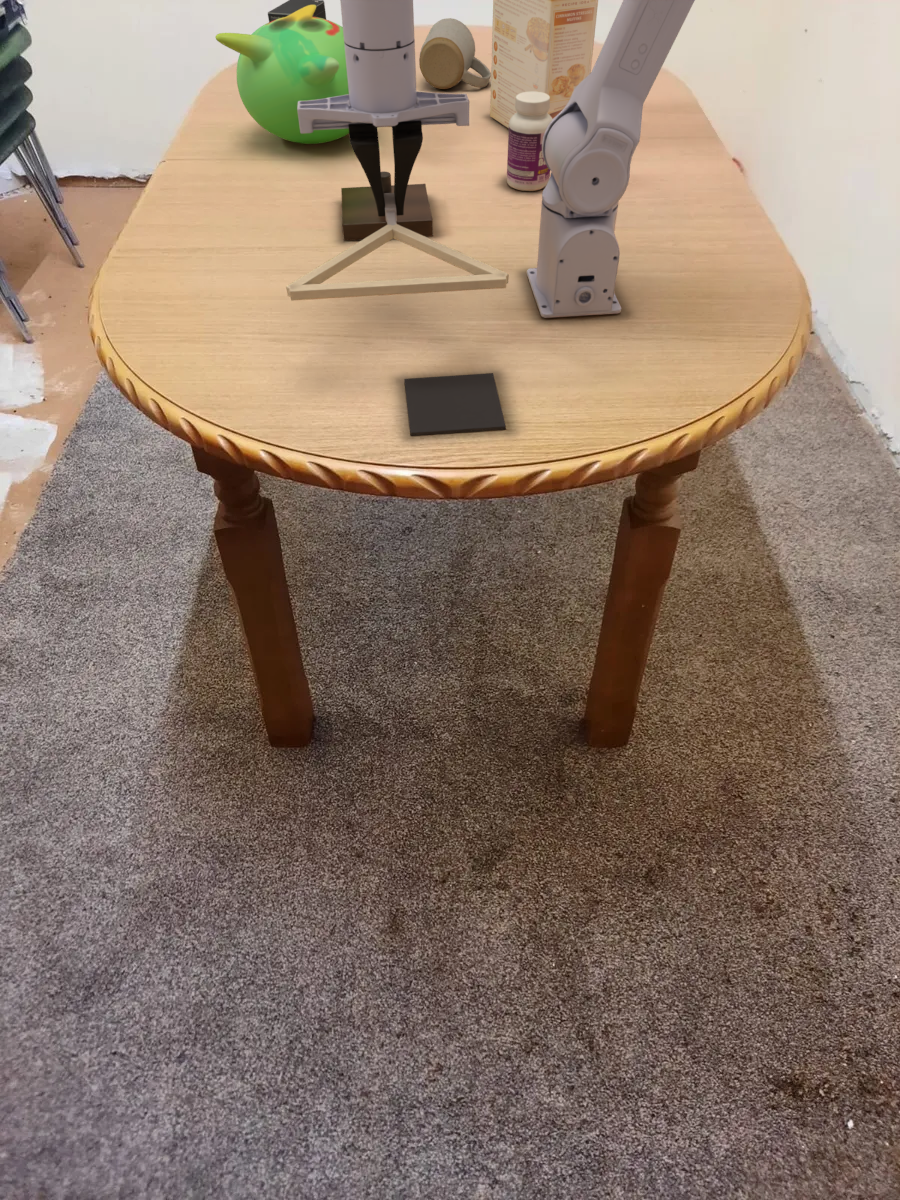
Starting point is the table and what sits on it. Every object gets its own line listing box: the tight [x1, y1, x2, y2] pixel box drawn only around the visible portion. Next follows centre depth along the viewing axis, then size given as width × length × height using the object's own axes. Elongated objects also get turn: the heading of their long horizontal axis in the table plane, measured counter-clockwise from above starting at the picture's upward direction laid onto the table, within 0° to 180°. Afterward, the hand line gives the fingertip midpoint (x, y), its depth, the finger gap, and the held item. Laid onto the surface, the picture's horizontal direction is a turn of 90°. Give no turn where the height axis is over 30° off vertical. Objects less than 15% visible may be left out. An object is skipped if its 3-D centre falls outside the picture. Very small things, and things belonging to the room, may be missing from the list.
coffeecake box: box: [489, 0, 599, 129], centre depth 107 cm, size 15×7×20 cm, turn 25°
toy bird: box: [215, 5, 349, 145], centre depth 107 cm, size 18×17×15 cm
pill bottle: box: [506, 91, 552, 192], centre depth 99 cm, size 5×5×10 cm
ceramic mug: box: [418, 17, 491, 90], centre depth 125 cm, size 11×8×8 cm
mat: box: [404, 372, 507, 436], centre depth 71 cm, size 8×8×1 cm
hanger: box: [285, 193, 510, 301], centre depth 73 cm, size 19×15×1 cm
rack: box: [340, 171, 434, 242], centre depth 94 cm, size 10×10×5 cm
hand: (390, 211), depth 77 cm, fingers closed on hanger, 1 cm apart
